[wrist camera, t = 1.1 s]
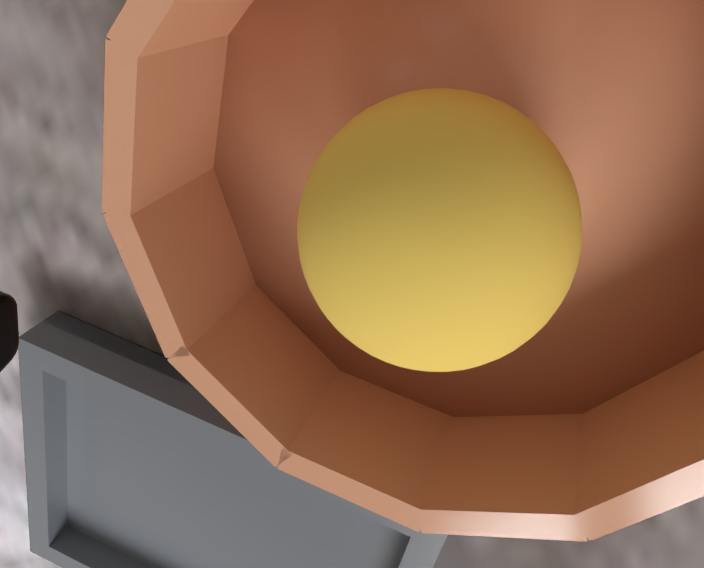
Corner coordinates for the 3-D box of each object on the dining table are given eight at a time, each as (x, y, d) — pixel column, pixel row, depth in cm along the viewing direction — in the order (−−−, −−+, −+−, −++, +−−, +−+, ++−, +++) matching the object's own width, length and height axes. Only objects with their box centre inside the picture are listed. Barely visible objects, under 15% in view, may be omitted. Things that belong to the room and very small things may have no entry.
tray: (462, 485, 22) (449, 530, 20) (378, 676, 28) (363, 722, 27) (58, 310, 25) (17, 338, 23) (62, 518, 31) (30, 550, 30)
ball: (632, 110, 15) (636, 199, 10) (536, 325, 18) (502, 476, 13) (382, 33, 16) (272, 80, 11) (332, 248, 19) (229, 360, 14)
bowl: (1013, -74, 12) (1191, -76, 8) (636, 501, 20) (639, 631, 16) (241, -251, 15) (112, -313, 11) (183, 313, 23) (97, 387, 19)
